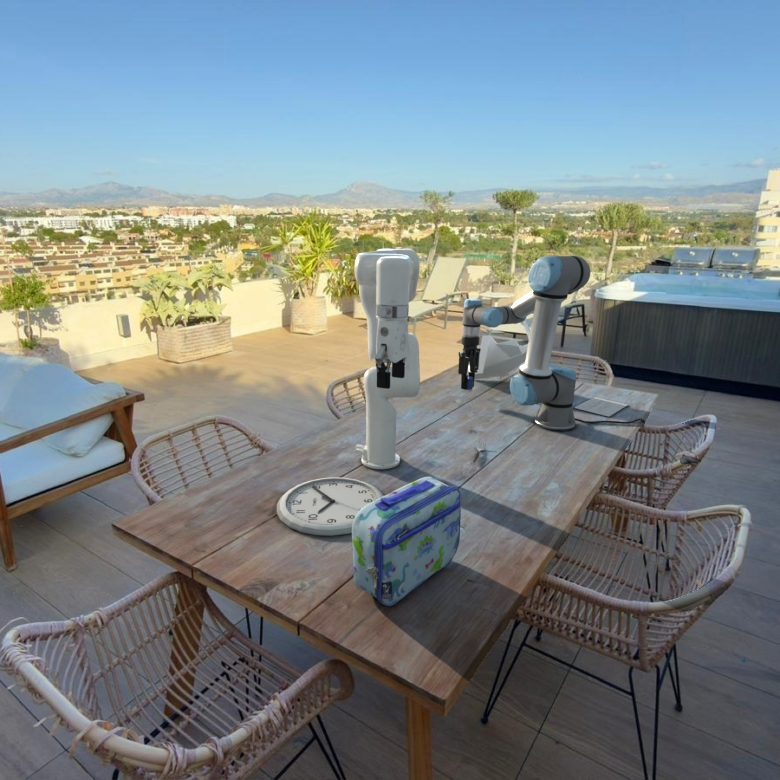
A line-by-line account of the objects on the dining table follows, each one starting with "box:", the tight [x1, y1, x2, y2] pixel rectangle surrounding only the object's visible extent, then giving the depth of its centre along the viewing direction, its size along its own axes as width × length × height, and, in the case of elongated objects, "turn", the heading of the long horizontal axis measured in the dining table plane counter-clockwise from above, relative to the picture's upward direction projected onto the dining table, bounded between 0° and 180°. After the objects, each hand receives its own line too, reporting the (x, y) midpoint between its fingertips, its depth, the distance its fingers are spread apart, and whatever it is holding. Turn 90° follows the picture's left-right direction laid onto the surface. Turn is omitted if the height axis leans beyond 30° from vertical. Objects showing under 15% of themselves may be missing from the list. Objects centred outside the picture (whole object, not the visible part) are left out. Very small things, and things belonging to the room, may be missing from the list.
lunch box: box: [351, 476, 462, 607], centre depth 111 cm, size 26×11×21 cm, turn 135°
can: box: [466, 375, 474, 391], centre depth 229 cm, size 4×4×5 cm
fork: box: [473, 440, 487, 463], centre depth 176 cm, size 3×16×2 cm, turn 160°
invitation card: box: [573, 396, 629, 418], centre depth 226 cm, size 21×1×15 cm
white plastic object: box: [467, 318, 531, 380], centre depth 255 cm, size 37×45×31 cm
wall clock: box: [276, 476, 385, 537], centre depth 142 cm, size 30×2×30 cm
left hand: (391, 382), depth 126 cm, fingers open, 9 cm apart
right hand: (467, 387), depth 230 cm, fingers closed on can, 4 cm apart
